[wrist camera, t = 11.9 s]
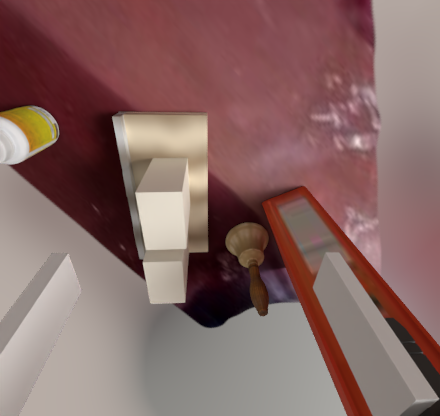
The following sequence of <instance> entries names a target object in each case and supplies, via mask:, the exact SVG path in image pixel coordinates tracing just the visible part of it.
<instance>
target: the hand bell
mask: <svg viewBox="0 0 440 416" xmlns="http://www.w3.org/2000/svg"><path fill="white" fill-rule="evenodd" d="M268 241H269V235H268V232H267V231H266V229H265V228H264V227H263V226H261V225H259V224H257V223H242V224H239V225H237V226H235V227H233V228H232V229H231V230H230V231H229V232H228V234H227V236H226V241H225V243H226V247H227V249H228V250H229V251H230V252H231V253H232V254H234V255H236V256H237V257H238V259H239V262H240V264H241V265H242V266H244V267H246V268H248V269H249V273H250V277H251V283H250V296H251V300H252V303H253V304H254V306H255V308H256V309H257V311H258V314H259V315H260V316H265V315H267V314H268V303H269V296H268V292H267V289H266V286H265V284H264V282H263V281H262V279H261V277H260V273H259V267H258V266H259V265H260V264H261V263H262V262H263V260H264V252H263V250H264V249H265V248H266V246H267V244H268Z"/></svg>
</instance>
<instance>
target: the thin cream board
mask: <svg viewBox="0 0 440 416" xmlns="http://www.w3.org/2000/svg"><path fill="white" fill-rule="evenodd" d="M112 119H113V124H114V130H115V135H116V140H117V145H118V150H119V156H120V161H121V166H122V171H123V173H122V174H123V179H124V184H125V189H126V195H127V197H128V202H129V208H130V213H131V218H132V223H133V231H134V236H135V241H136V246H137V249H138V254H139V259H144V256H145V253H146V248H145V243H144V237H143V232H142V226H141V221H140V216H139V210H138V205H137V199H136V194H135V192H136V190H137V188H138V186H139V184H140V182H141V180H142V179H143V177H144V175H145V173H146V171H147V169H148V167H149V165H150V163H151V161H152V159H153V158H188V174H189V191H190V214H189V226H188V245H189V252H208V166H207V113H192V112H119V113H117V114H115V115H114V116H112Z"/></svg>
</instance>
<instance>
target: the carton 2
mask: <svg viewBox="0 0 440 416" xmlns="http://www.w3.org/2000/svg"><path fill="white" fill-rule="evenodd" d="M188 258H189V245H188V237H187V248H186V249H168V250H146V253H145V256H144V260H143V267H144V272H145V278H146V283H147V288H148V294H149V299H150V304H159V303H185V299H186V286H187V272H188Z"/></svg>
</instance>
